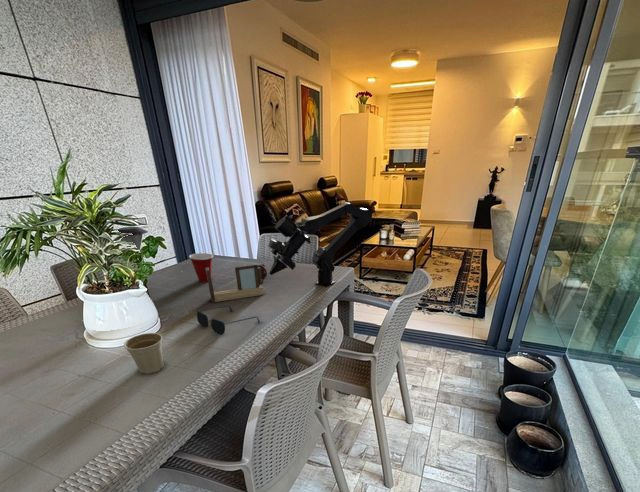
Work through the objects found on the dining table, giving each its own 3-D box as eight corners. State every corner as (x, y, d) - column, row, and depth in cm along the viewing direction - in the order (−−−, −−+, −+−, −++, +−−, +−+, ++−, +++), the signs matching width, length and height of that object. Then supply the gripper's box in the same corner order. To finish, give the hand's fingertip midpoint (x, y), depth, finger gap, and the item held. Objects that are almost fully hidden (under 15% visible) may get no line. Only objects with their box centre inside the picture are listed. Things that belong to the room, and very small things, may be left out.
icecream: (264, 270, 158) (272, 264, 171) (248, 266, 158) (257, 260, 171) (262, 284, 161) (269, 277, 174) (246, 280, 161) (255, 274, 174)
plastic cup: (214, 283, 164) (209, 257, 158) (191, 283, 164) (185, 258, 158) (220, 276, 173) (216, 252, 168) (198, 277, 173) (193, 252, 168)
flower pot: (146, 381, 91) (137, 352, 87) (125, 371, 96) (116, 344, 92) (176, 365, 98) (169, 337, 94) (155, 356, 103) (148, 330, 99)
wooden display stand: (261, 291, 152) (257, 261, 146) (263, 294, 148) (260, 264, 142) (211, 298, 146) (205, 267, 139) (212, 302, 141) (206, 270, 135)
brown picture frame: (261, 289, 150) (258, 263, 145) (262, 290, 148) (260, 265, 143) (238, 292, 147) (234, 266, 142) (239, 294, 145) (235, 268, 140)
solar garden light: (170, 300, 145) (152, 224, 131) (159, 312, 134) (138, 230, 120) (141, 301, 145) (119, 225, 130) (127, 313, 134) (102, 231, 120)
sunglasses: (196, 323, 123) (195, 309, 121) (231, 315, 133) (231, 303, 132) (224, 337, 113) (223, 322, 111) (260, 328, 123) (260, 314, 121)
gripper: (273, 228, 149) (250, 257, 151) (285, 235, 134) (260, 267, 136) (292, 245, 155) (270, 272, 157) (306, 254, 140) (281, 284, 142)
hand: (270, 274), depth 148 cm, fingers closed
